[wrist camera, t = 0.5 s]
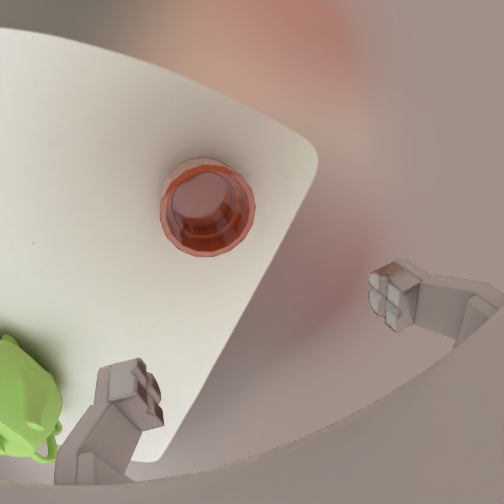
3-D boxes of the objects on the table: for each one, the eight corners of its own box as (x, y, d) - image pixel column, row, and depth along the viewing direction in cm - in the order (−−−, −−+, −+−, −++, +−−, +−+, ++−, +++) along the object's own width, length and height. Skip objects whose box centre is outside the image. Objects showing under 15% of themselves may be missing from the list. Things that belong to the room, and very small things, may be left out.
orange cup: (150, 172, 22) (147, 183, 18) (229, 148, 23) (243, 153, 19) (175, 244, 25) (178, 268, 21) (247, 220, 26) (263, 240, 22)
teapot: (-36, 294, 20) (-86, 368, 9) (67, 333, 25) (42, 432, 14) (-17, 383, 24) (-39, 451, 13) (66, 414, 30) (59, 490, 19)
